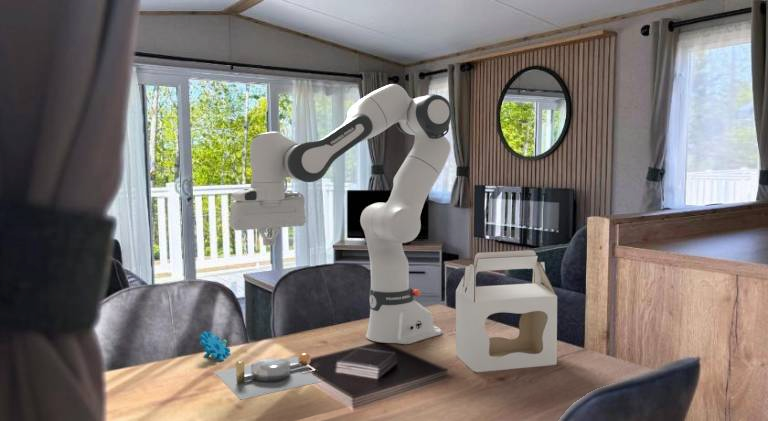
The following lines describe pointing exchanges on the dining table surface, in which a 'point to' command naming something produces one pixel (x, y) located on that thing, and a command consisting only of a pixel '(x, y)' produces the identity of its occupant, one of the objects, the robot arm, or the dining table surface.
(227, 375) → the grey square plate
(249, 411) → the dining table surface
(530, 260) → the gable box
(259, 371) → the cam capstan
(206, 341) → the gear
